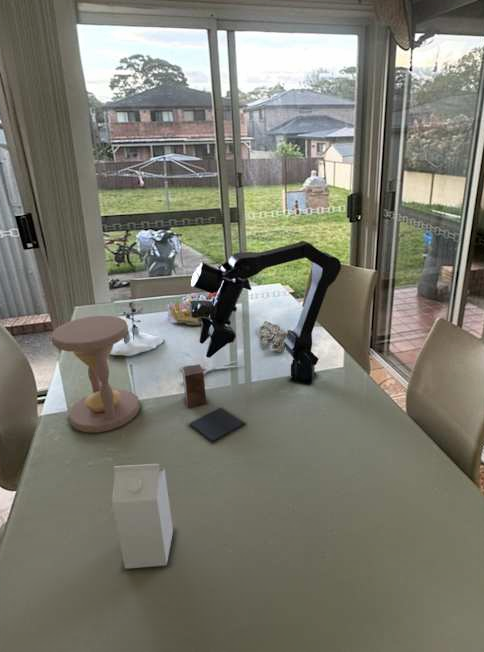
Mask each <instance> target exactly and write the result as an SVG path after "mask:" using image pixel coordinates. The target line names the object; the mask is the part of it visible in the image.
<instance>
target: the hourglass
mask: <svg viewBox="0 0 484 652" xmlns="http://www.w3.org/2000/svg"><path fill="white" fill-rule="evenodd" d="M128 331H129V326H128V323H127V321H126V320H125V319H123V318H121V317H119V316H114V315H94V316H85V317H81V318H77V319H73V320H70V321H67V322H65V323H63V324H61V325H59V326H57V327H56V328H55V329H54V330H53V331H52V332H51V343H52V345H53V346H54V347H55V348H56V349H58V350H61V351H65V352H73V354H74V355H75V357H77V358H78V359H79V360H80V361H81V362H82V363H83V364H85V365H86V366H87V367H88V368H87V376H88V379H89V382H90V384H91V389H92V393H90V394H88V395H86V396H84V397H83V398H81V399H79V400H77V402H75V403H74V404H73V405H72V407H71V408H70V410H69V412H68V420H69V423H70V425H71V426H72V428H74V429H75V430H76V431H79V432H83V433H91V434H92V433H93V434H95V433H97V434H98V433H103V432H104V433H105V432H109V431H111V430H115V429H117V428H120V427H122V426H124V425H126V424H127V423H129V422H131V421H132V420H133V419H134V418H135V417H136V416H137V415H138V412H139V410H140V407H141V405H140V400H139V397H138V395H136V394H135V393H134V392H132V391H130V390H126V389H118V388H117V389H116V388H112V387H111V385H110V383H109V377H110V368H109V364H108V362H107V360H108V359H109V357H110V355H111V354H110V353H111V351H112V349H113V344H115V343H117V342H119V341H120V340H122V339H123V338H125V336H126V335H127V333H128Z"/></svg>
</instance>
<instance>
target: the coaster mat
mask: <svg viewBox="0 0 484 652" xmlns="http://www.w3.org/2000/svg"><path fill="white" fill-rule="evenodd" d="M243 426H245V422H244V421H242V420H241V419H239V418H237V417H236V416H235V415H233V414H231V413H230V412H229V411H227V410H225V409H223V408H222V407H219V408H217V409H215V410H213V411H211V412H209V413H207V414H205V415H203V416H201V417H199V418H198V419H196V420H195V419H194V420H193V421H191V422H190V423H189V427H191V428H193V429H194V430H195V431H196V432H198V433H199V434H201V435H202V436H203V437H205V438H206V439H207V440H209V441H210V442H211V443H215V442H217V441H219V440H221V439H222V438H224V437H226V436H228V435H229V434H231V433H233V432H234V431H236V430H238V429H240V428H242V427H243Z"/></svg>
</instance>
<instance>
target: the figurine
mask: <svg viewBox="0 0 484 652" xmlns="http://www.w3.org/2000/svg"><path fill="white" fill-rule="evenodd" d="M128 307H129V308H130V312H127V311H122V313H123V314H121V316H125V319H128V320H131V322H132V324H131V325H132V327H131V328H130V330H128V333H127V335H126V336H125V338H123V339H122V340H120V341H119V342H117V343H115V344H113V349H112V351H111V353H110V355H112V356H127V357H128V356H135V355H137V354H139V353H145V352H149V351H150V350H152V349H156V348H157V347H158V346H159V345H161V344H162V343H163V342H164V339H162V338H161V337H160V336H159V335H152V334H149V333H146V332H140V329H139V327H138V326H137V325H136V324H135V323H141V320H140V319H138V320H135V319H134V316H135V315H137V314H141V313H142V311H143V309H144V308H141V309H138V310H137V309H136V304H134V302H133V301H129V302H128ZM130 332H131V334H130Z"/></svg>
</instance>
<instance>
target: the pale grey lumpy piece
mask: <svg viewBox="0 0 484 652" xmlns="http://www.w3.org/2000/svg"><path fill="white" fill-rule="evenodd" d="M268 328H269V330H268ZM259 329H260V338H261V344H262V346H261V347H262V349H264V348H265V347H266V345H267V344H268V343H269V351H271V352H272V351H273V352H276V353H281V354H283V352H284V351H285V350H286V348H285V342H284V340H285V339H286V336H287V332H285V331H282V330H281V329H280V326H279V325H277V324H274V323H272V322H270V321H266V320H265V321H264V322H263V324H262V325H261V326H260V327H259ZM269 339H272V341H270V342H269Z"/></svg>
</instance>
